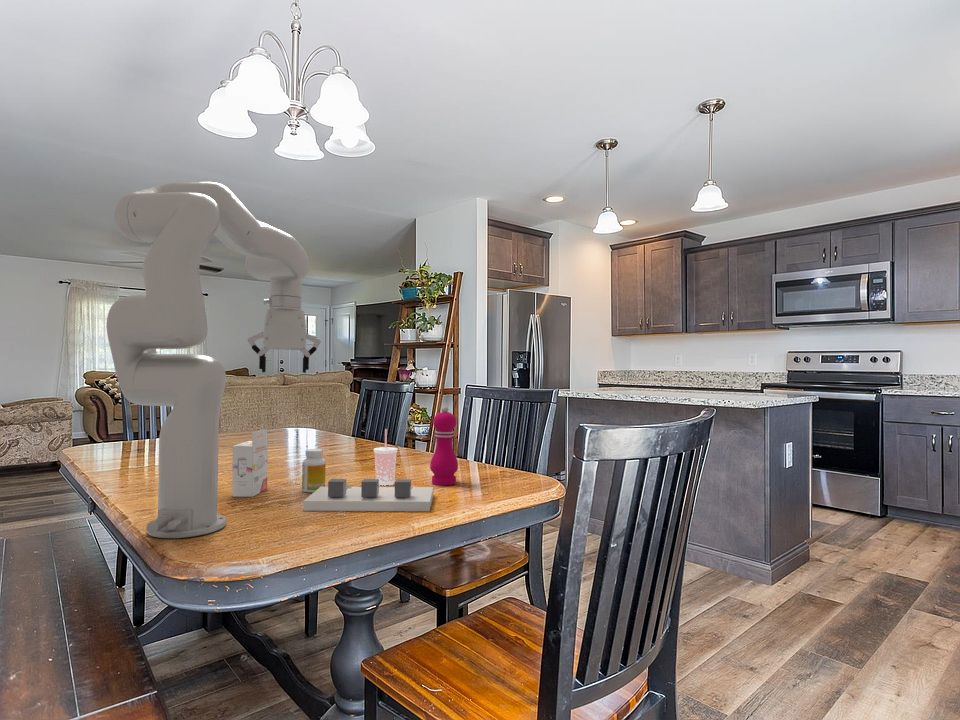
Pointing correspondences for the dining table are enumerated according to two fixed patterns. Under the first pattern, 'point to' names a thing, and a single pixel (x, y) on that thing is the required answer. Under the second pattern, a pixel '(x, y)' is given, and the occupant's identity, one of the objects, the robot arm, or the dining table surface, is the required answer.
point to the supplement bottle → (313, 470)
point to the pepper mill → (444, 449)
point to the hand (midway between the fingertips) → (284, 372)
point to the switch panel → (370, 500)
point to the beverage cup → (385, 463)
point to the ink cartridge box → (250, 466)
